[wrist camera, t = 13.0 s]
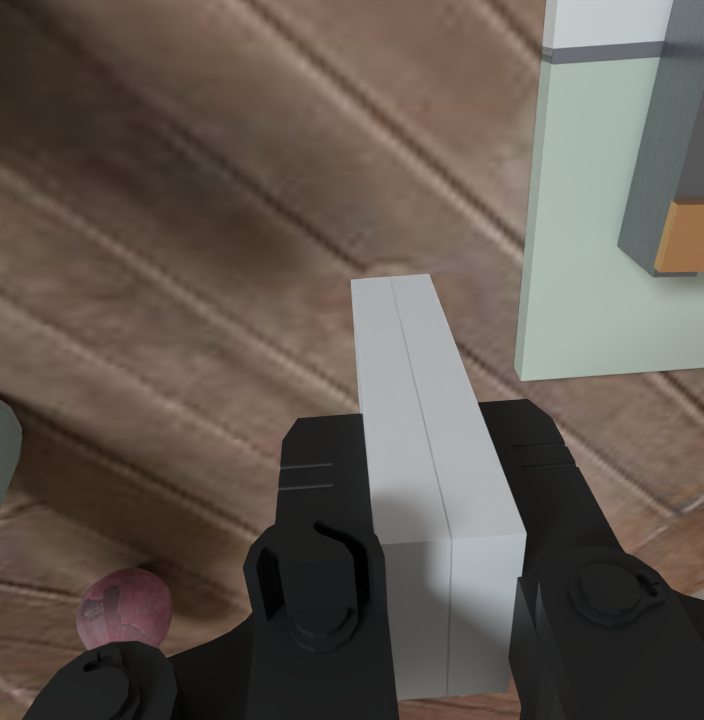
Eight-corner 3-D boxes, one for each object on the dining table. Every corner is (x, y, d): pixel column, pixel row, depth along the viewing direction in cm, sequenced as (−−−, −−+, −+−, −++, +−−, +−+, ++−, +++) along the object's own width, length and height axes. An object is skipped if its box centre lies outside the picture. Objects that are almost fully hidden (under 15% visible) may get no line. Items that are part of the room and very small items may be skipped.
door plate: (585, -447, 21) (604, -477, 19) (942, -471, 21) (985, -502, 19) (514, 367, 37) (521, 381, 36) (712, 353, 37) (727, 366, 36)
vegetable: (140, 526, 43) (95, 661, 34) (201, 574, 45) (173, 710, 37) (79, 563, 44) (20, 701, 36) (141, 607, 47) (101, 745, 38)
